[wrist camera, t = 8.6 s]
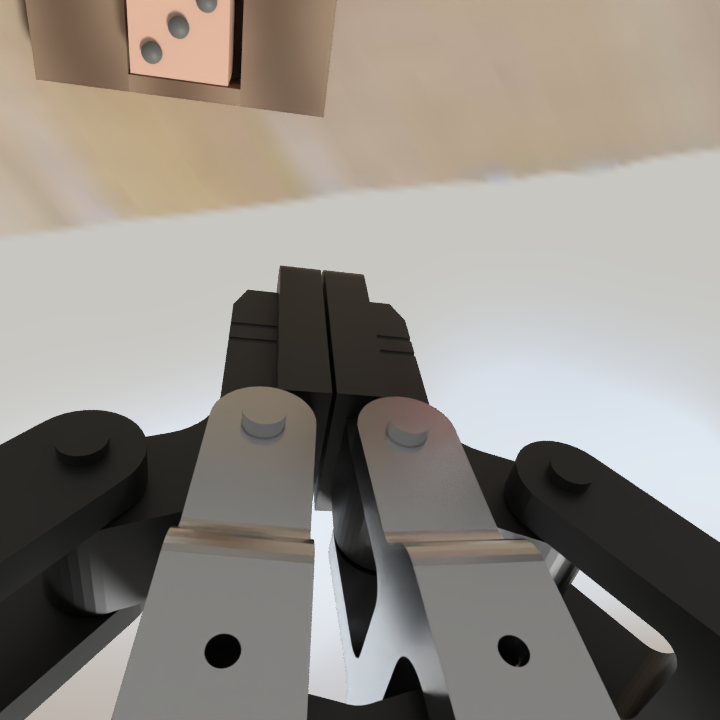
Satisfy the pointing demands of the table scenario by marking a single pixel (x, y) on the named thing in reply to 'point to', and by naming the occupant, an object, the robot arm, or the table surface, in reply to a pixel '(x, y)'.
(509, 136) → the table surface
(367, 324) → the robot arm
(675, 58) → the table surface
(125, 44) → the socket board
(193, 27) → the pink dotted block
